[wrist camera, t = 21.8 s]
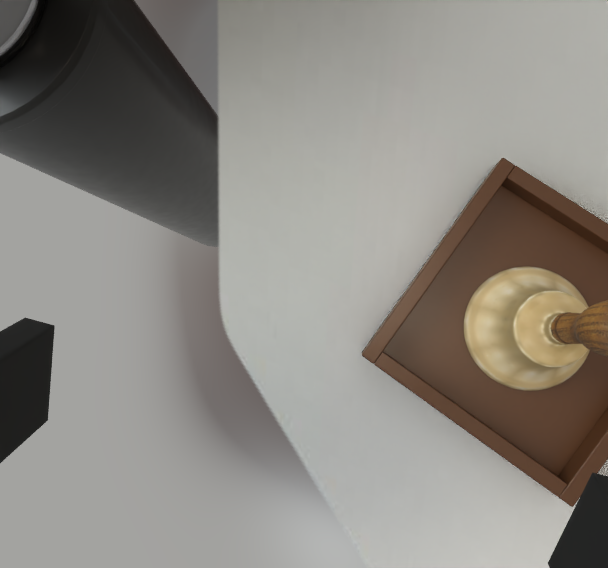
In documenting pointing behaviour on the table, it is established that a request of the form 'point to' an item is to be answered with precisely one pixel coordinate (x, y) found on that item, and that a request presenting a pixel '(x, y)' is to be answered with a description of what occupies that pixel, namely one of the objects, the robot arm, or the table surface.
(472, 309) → the hand bell
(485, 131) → the table surface
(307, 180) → the table surface
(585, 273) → the tray
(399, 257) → the table surface
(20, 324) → the robot arm
